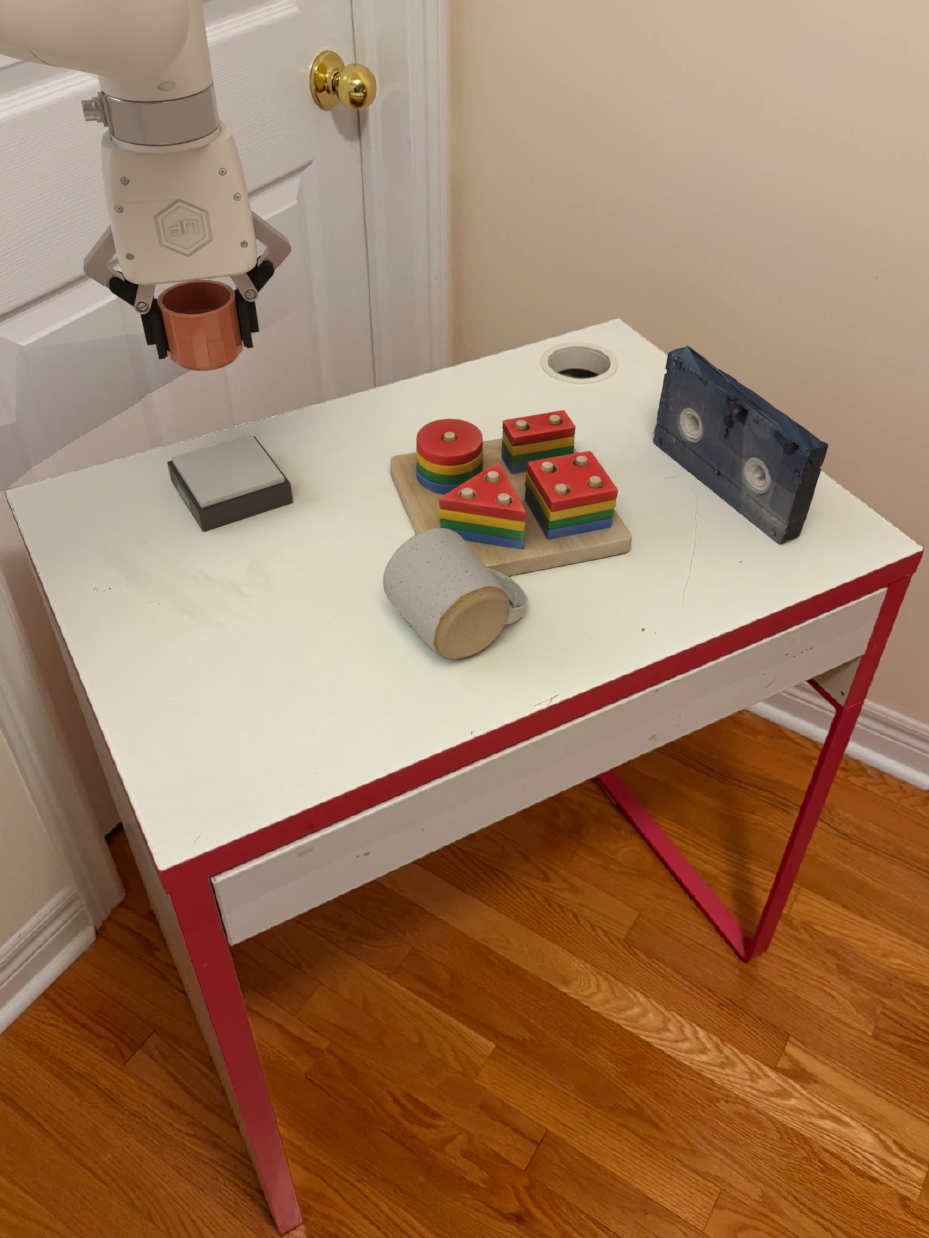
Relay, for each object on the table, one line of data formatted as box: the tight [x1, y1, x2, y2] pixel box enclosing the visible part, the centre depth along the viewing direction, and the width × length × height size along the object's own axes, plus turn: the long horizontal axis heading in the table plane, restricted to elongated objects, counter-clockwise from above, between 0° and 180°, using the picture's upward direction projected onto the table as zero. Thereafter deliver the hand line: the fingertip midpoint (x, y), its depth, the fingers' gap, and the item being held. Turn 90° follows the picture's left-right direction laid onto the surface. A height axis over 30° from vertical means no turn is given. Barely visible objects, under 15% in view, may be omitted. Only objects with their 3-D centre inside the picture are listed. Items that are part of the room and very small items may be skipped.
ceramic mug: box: [382, 528, 528, 660], centre depth 82 cm, size 11×8×8 cm
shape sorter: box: [389, 409, 632, 577], centre depth 93 cm, size 18×17×6 cm
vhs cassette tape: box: [652, 345, 830, 545], centre depth 94 cm, size 18×3×10 cm, turn 29°
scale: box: [166, 433, 294, 533], centre depth 95 cm, size 9×9×3 cm
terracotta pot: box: [157, 279, 244, 372], centre depth 84 cm, size 6×6×5 cm
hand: (204, 343), depth 85 cm, fingers closed on terracotta pot, 6 cm apart
